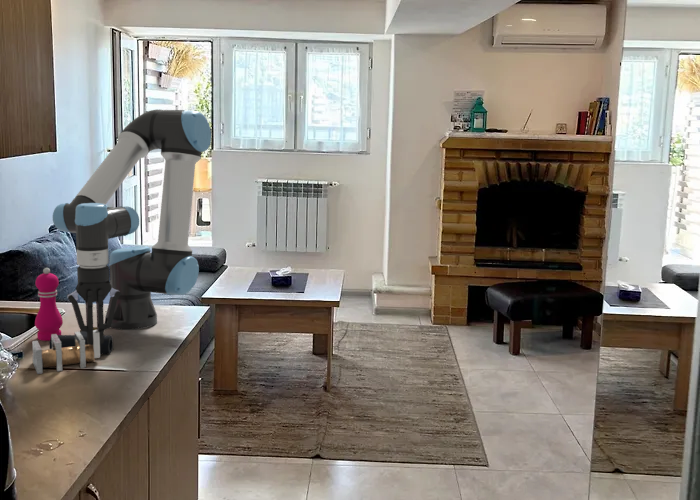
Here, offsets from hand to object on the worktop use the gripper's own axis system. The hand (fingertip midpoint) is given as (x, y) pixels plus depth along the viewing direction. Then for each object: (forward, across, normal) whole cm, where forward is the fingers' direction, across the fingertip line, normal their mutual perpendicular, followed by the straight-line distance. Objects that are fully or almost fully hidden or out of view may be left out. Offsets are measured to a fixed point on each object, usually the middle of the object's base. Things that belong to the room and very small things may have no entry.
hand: (96, 356), depth 189 cm
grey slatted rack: (+1, -9, 0) cm, 9 cm away
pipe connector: (+2, -1, +12) cm, 12 cm away
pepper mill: (+2, -8, +26) cm, 27 cm away
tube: (+1, -7, 0) cm, 7 cm away
